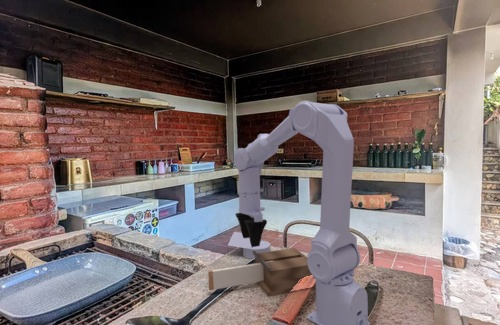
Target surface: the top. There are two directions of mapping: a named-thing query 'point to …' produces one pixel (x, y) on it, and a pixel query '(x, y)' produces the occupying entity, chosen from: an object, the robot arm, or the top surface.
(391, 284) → the top surface
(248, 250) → the wedge on round base
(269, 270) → the dispenser
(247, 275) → the cream wooden plank
